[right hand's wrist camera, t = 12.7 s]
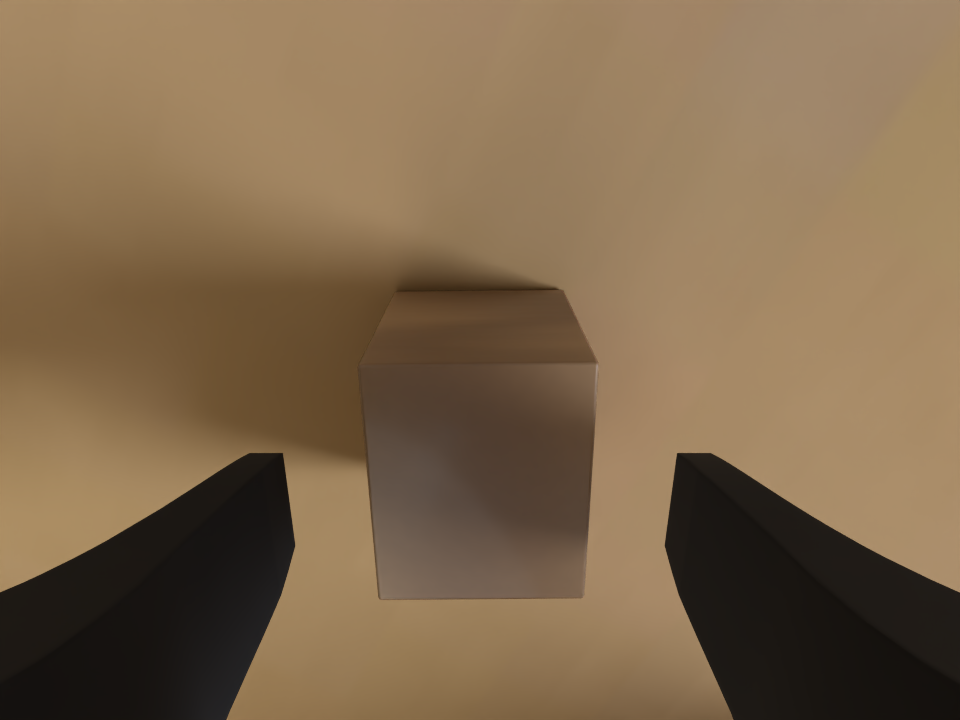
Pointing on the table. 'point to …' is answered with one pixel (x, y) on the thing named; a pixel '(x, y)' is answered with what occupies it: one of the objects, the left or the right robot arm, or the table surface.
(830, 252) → the table surface
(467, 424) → the block
